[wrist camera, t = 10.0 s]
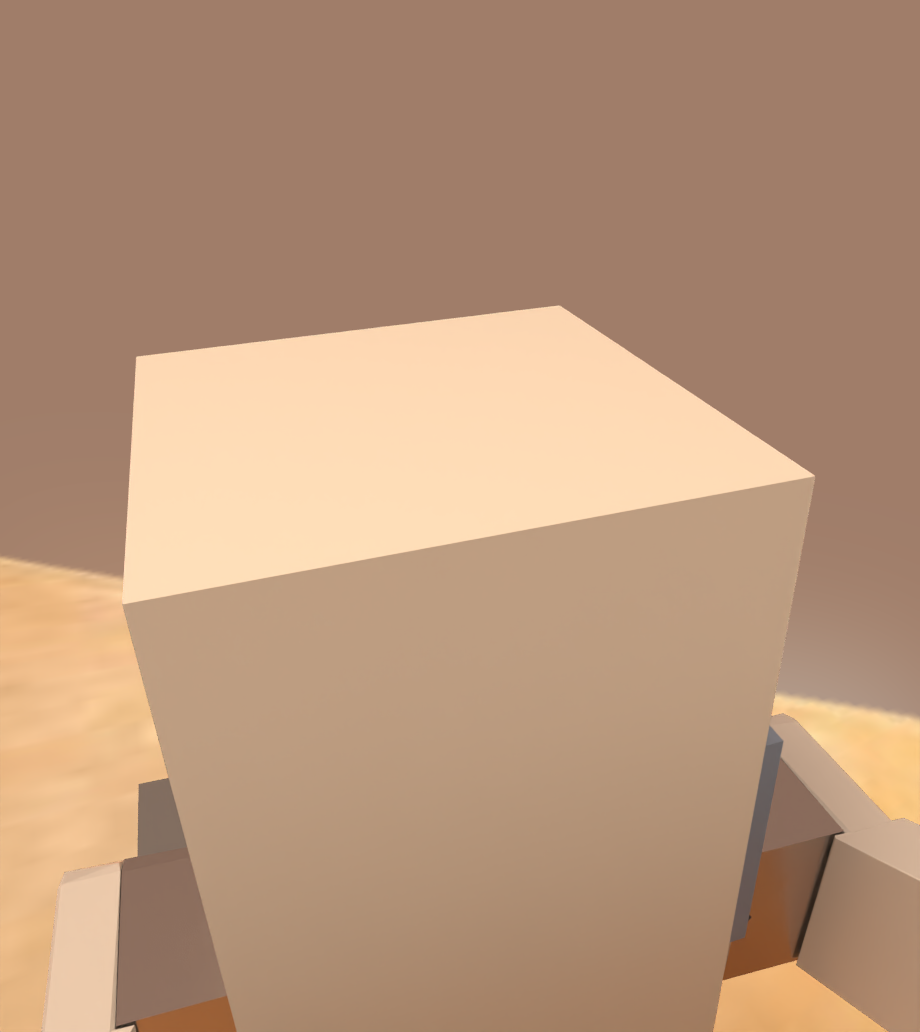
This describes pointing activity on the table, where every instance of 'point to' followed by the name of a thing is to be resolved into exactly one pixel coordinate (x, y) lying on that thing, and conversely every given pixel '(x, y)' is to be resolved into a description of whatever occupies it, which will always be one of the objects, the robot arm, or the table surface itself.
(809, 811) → the robot arm
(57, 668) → the table surface
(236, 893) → the plug
